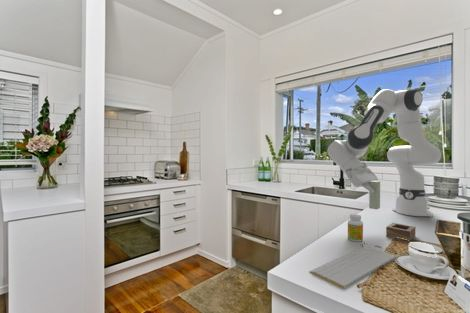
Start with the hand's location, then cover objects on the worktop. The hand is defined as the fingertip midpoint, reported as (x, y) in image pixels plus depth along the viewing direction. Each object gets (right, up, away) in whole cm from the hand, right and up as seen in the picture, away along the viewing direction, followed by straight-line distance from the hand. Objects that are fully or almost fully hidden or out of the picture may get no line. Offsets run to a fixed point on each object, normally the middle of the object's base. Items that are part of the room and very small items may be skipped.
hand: (376, 191), depth 106 cm
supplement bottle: (-15, -18, -11) cm, 25 cm away
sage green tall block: (0, -7, +1) cm, 7 cm away
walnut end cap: (+6, -17, -7) cm, 20 cm away
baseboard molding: (-26, -19, -32) cm, 45 cm away
